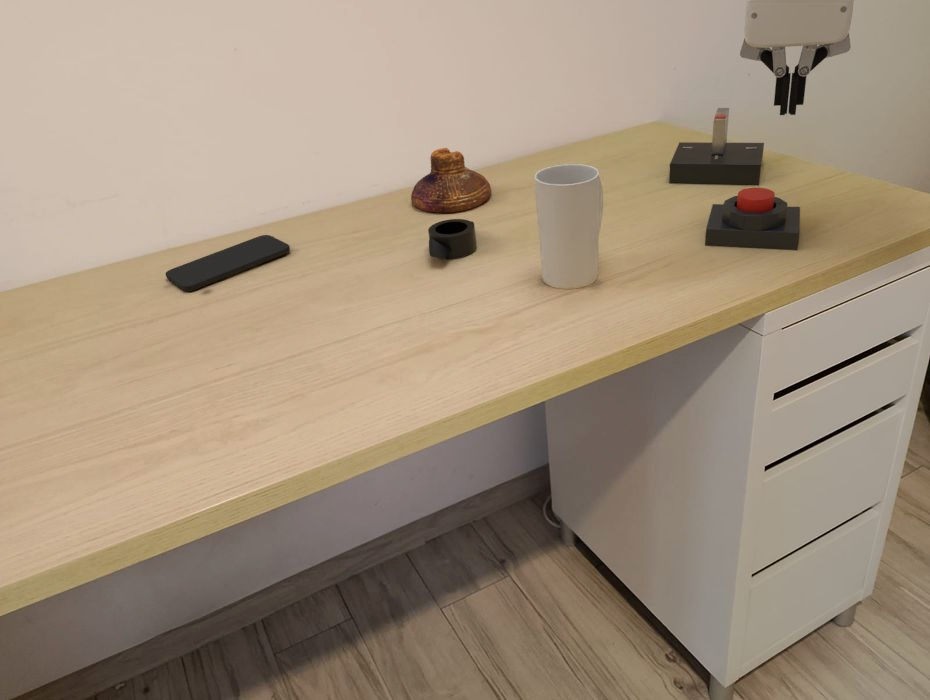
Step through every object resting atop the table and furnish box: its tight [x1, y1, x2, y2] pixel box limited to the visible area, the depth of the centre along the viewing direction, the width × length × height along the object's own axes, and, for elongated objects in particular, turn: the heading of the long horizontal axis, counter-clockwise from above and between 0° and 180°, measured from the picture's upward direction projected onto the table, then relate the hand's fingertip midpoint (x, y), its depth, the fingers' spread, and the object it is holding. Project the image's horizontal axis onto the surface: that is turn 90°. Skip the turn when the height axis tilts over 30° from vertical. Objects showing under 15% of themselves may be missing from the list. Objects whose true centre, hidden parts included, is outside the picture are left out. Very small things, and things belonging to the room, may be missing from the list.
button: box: [737, 187, 776, 212], centre depth 86 cm, size 4×4×2 cm
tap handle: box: [711, 107, 730, 155], centre depth 107 cm, size 6×2×5 cm, turn 159°
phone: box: [165, 234, 291, 292], centre depth 97 cm, size 7×1×15 cm
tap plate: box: [668, 141, 765, 187], centre depth 108 cm, size 12×12×3 cm
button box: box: [704, 195, 801, 251], centre depth 88 cm, size 10×8×4 cm
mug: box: [534, 163, 604, 290], centre depth 82 cm, size 10×7×12 cm, turn 138°
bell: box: [410, 147, 492, 214], centre depth 108 cm, size 12×12×7 cm
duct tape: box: [427, 218, 478, 260], centre depth 94 cm, size 8×10×3 cm
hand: (787, 111), depth 82 cm, fingers closed
